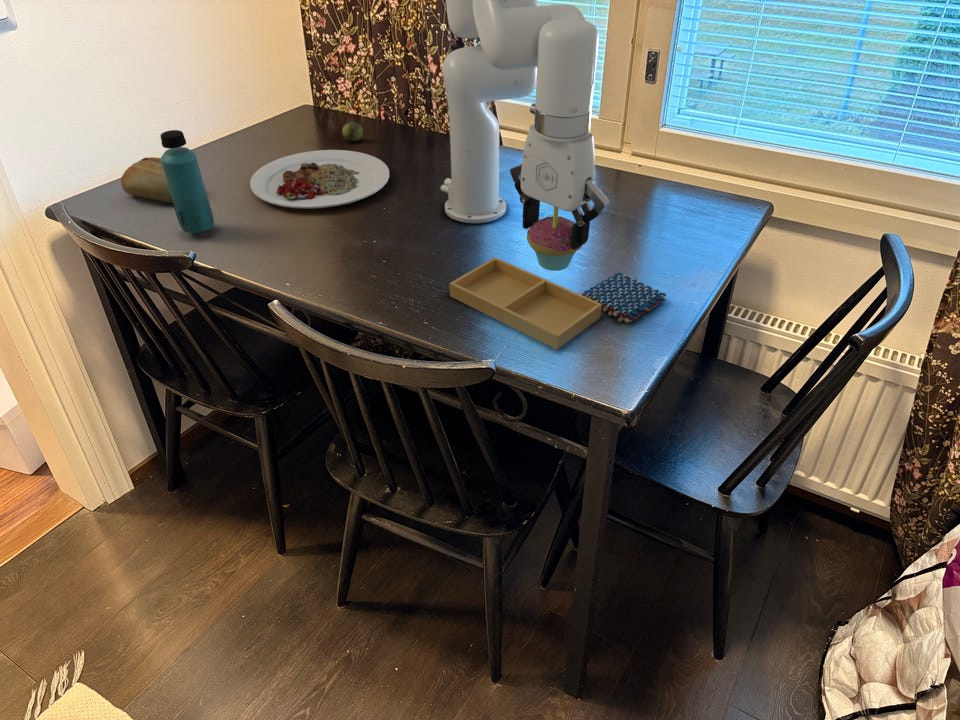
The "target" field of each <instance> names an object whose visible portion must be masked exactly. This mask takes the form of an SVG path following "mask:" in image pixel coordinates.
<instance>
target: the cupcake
mask: <svg viewBox="0 0 960 720" xmlns="http://www.w3.org/2000/svg"><path fill="white" fill-rule="evenodd" d="M575 223H576V222H575V221H572V220H570V219H568V218H566V217H563V216H559V208H557V207H554V206H553V214H552V216H546V217H543V218H539V221H536V223H535V222H534V223H533V225H531V227H530V228H528V229H527V232H526V240H527V243H528V245H529V246H530V248H531V249H532V250H533V251H534V253H535V255H536V259H537V263H538V265H539V266H540V267H541V268H542V269H544V270H546V271H551V272H558V271H559V272H560V271H563V270H566V269H567V268H568V267H569V265H570V264H571V262H572V259H573V257H574V255H575V253H577V252H578V251H579V250H580V249H581V248H582V247H583V245H582V246H580V247H579V248H577V249H576V250H574V249H572V248H571V237H572V226H573V224H575Z"/></svg>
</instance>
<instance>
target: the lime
mask: <svg viewBox="0 0 960 720" xmlns="http://www.w3.org/2000/svg"><path fill="white" fill-rule="evenodd" d="M363 133H364V129H363V127H362V125H361V124H360V123H358V122H355V121H349V122H347V123H345V125H344V126H343V127H342V130H341V134H342V137H343V138H344V139H345V140H346V141H348V142H350V143H355V142H358V141H359V140H361V139H362V137H363Z"/></svg>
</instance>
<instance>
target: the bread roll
mask: <svg viewBox="0 0 960 720" xmlns="http://www.w3.org/2000/svg"><path fill="white" fill-rule="evenodd" d="M160 159H161V157H144V158H141V159H140V160H138V161H137V162H134V163H132V164H131V165H130V166H129V167H127V169H125V171H124V172H123V174H122V176H121V177H120V184H121V188H122V190H123V191H124V192H125V193H126V194H127V195H130V196H133V197H138V198H139V197H140V198H143V199H150V200H154V201H160V202H162V203H163V202H164V203H170V204H174V203H173V199H171V198H172V196H171V193H170V190H169V186H167V185H168V183H167V179H166V176H165V172H164V169H163V166H162V163H161V160H160Z"/></svg>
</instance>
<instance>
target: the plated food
mask: <svg viewBox="0 0 960 720" xmlns="http://www.w3.org/2000/svg"><path fill="white" fill-rule="evenodd" d="M389 179H390V169H389V167H388V165H387V164H386V163H385V162H384V161H382V160H381V159H379V158H377V157H376V156H373V155H371V154H367V153H364V152H359V151H354V150H346V149H345V150H344V149H321V150H320V149H318V150H310V151H303V152H298V153H293V154H291V155H287V156H283V157H280V158H277V159H275V160H271V161H270V162H269V163H266V164H264V165H262V166H261V167H260V168H259V169H257V170H256V171H255V172H254V173H253V175H252V176H251V178H250V181H249V185H250V191H251V192H252V194H253V195H254V196H256V197H257V198H258V199H260V200H261V201H263V202H266V203H268V204H270V205H275V206H279V207H284V208H292V209H324V208H325V209H326V208H331V207H338V206H343V205H347V204H351V203H354V202H358V201H361V200H364V199H365V198H368V197H370V196H372V195H374V194H376V193H377V192H379V191H380V190H382V189H383V187H384V186H385V185H386V184H387V183H388V182H389Z"/></svg>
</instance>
